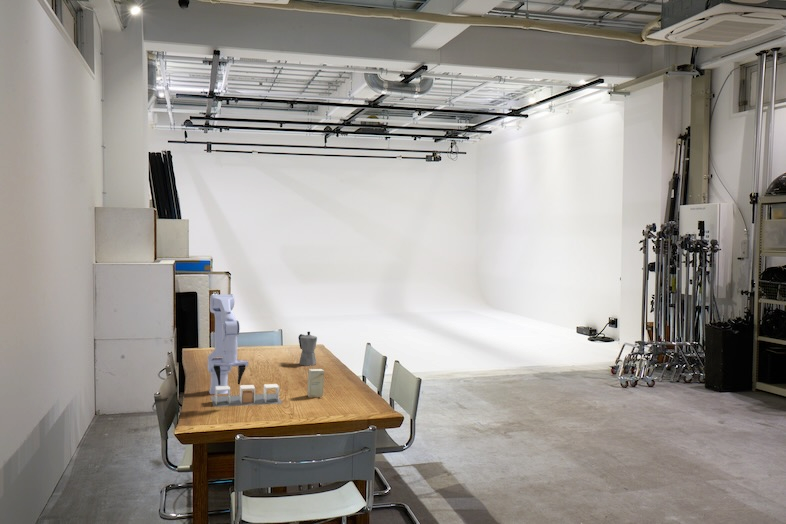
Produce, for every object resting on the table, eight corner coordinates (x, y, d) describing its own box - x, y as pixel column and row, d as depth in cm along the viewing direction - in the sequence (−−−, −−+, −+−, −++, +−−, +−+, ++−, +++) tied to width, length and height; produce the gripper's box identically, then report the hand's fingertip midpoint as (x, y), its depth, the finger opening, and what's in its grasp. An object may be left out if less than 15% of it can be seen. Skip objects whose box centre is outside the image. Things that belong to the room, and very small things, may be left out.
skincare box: (309, 398, 288) (310, 371, 287) (307, 396, 292) (307, 369, 291) (323, 397, 290) (324, 370, 289) (320, 395, 294) (321, 368, 294)
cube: (241, 400, 278) (241, 391, 278) (251, 399, 280) (251, 390, 280) (242, 402, 275) (243, 393, 274) (252, 402, 276) (252, 392, 276)
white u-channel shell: (239, 399, 279) (239, 385, 279) (252, 399, 281) (253, 384, 281) (241, 403, 273) (241, 388, 273) (254, 402, 275) (255, 388, 275)
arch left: (214, 401, 276) (215, 386, 276) (228, 400, 278) (229, 385, 277) (216, 404, 270) (216, 389, 270) (230, 404, 272) (230, 389, 272)
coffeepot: (322, 365, 360) (323, 332, 359) (308, 367, 354) (309, 333, 353) (305, 360, 371) (306, 328, 370) (291, 362, 365) (292, 330, 364)
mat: (210, 397, 283) (210, 396, 283) (276, 394, 292) (276, 393, 292) (213, 408, 267) (213, 406, 267) (282, 404, 276) (282, 403, 276)
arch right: (263, 398, 282) (263, 384, 282) (276, 398, 284) (276, 383, 284) (265, 402, 277) (265, 387, 276) (278, 401, 279) (279, 387, 278)
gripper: (211, 353, 260) (211, 387, 261) (249, 352, 265) (248, 385, 266) (210, 349, 267) (210, 383, 268) (247, 349, 272) (246, 381, 272)
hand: (229, 384), depth 267 cm, fingers open, 7 cm apart
